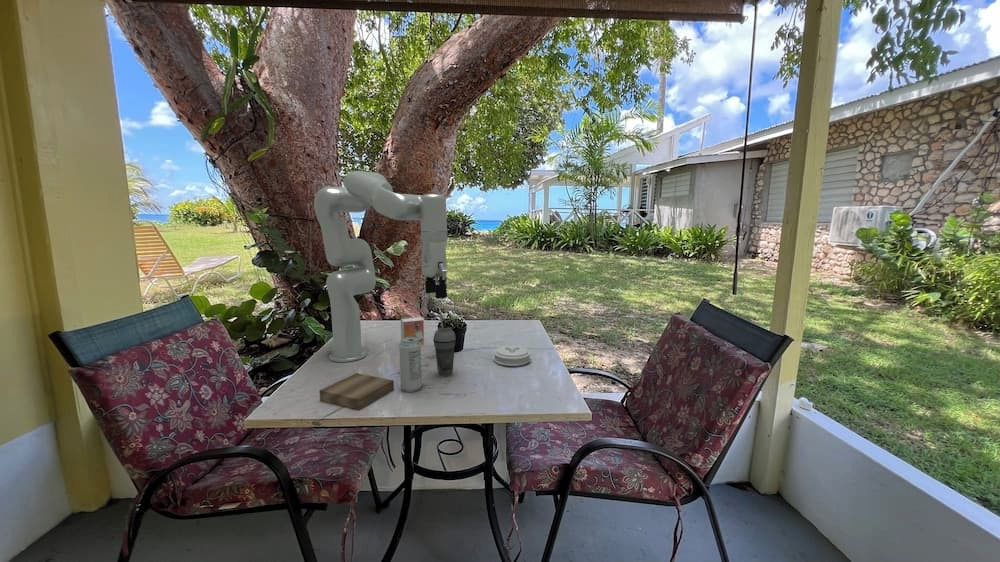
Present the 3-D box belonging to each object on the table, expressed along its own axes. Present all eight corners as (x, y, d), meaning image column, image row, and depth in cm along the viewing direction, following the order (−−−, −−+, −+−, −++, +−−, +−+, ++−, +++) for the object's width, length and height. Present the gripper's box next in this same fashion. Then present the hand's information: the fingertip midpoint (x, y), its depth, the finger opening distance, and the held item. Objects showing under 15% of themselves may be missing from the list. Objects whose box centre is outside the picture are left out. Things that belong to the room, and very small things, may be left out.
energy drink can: (413, 383, 126) (411, 335, 124) (426, 388, 122) (424, 339, 120) (396, 389, 121) (394, 339, 119) (409, 394, 117) (408, 343, 115)
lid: (494, 355, 151) (494, 342, 151) (529, 356, 151) (529, 342, 150) (493, 368, 139) (493, 353, 138) (530, 368, 139) (531, 354, 138)
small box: (404, 348, 159) (403, 321, 158) (401, 344, 164) (400, 318, 163) (424, 345, 162) (423, 319, 161) (421, 342, 168) (420, 316, 166)
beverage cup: (452, 379, 129) (451, 316, 126) (430, 377, 130) (428, 315, 127) (459, 370, 136) (458, 311, 133) (438, 369, 137) (437, 310, 134)
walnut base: (320, 400, 114) (319, 390, 113) (356, 382, 126) (356, 373, 126) (359, 410, 108) (358, 399, 107) (393, 390, 121) (393, 380, 120)
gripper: (413, 237, 126) (415, 292, 129) (430, 239, 111) (432, 301, 113) (437, 236, 130) (438, 290, 132) (456, 238, 114) (458, 299, 117)
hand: (435, 295), depth 123 cm, fingers open, 9 cm apart
